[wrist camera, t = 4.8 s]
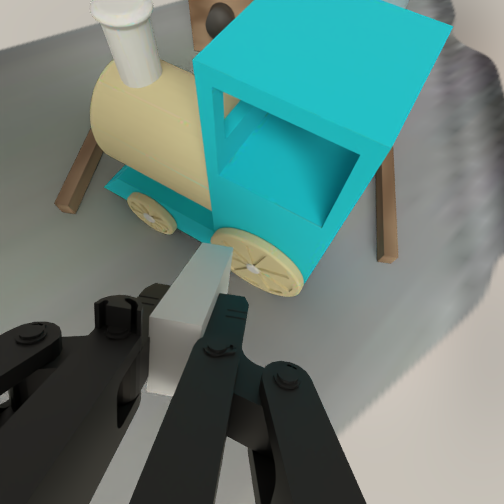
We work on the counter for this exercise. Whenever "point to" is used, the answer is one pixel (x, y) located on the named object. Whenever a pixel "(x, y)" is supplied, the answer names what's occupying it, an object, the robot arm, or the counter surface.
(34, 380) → the robot arm
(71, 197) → the bar
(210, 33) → the buffer stop
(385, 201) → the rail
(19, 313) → the counter surface
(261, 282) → the toy train
